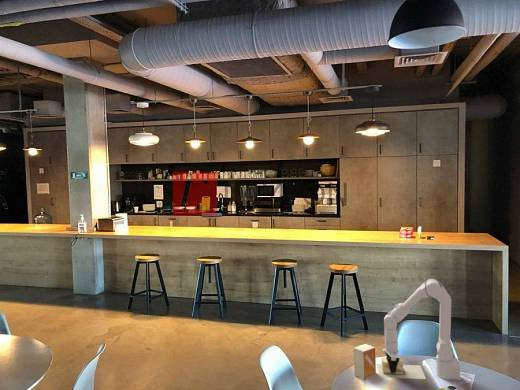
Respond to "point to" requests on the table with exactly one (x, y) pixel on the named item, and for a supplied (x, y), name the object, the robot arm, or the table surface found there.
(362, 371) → the small box
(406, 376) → the board
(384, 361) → the block
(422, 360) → the table surface
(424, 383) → the table surface
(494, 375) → the table surface
